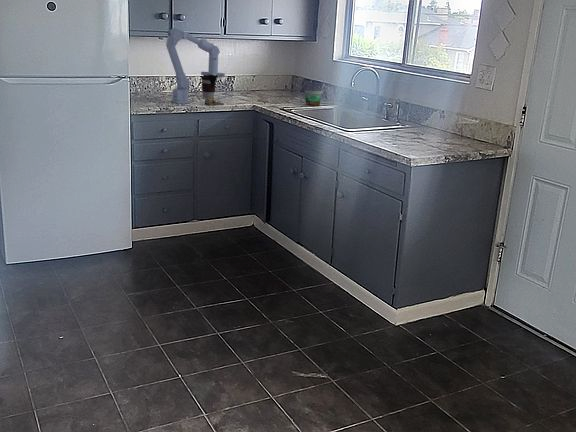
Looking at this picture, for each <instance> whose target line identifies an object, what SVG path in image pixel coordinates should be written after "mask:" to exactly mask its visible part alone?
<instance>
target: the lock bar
mask: <svg viewBox="0 0 576 432" xmlns="http://www.w3.org/2000/svg"><path fill="white" fill-rule="evenodd" d="M206 99H207V100H209V102H217V100H216V99H217V97H214V98H206Z"/></svg>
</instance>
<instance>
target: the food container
mask: <svg viewBox="0 0 576 432" xmlns="http://www.w3.org/2000/svg"><path fill="white" fill-rule="evenodd" d="M304 93H305V97H304V98H305V106H307V105H308V106H309V107H320V104H321V100H322V95H323V90H310V89H309V90H308V89H305V90H304ZM304 93H303V94H304Z"/></svg>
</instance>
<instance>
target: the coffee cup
mask: <svg viewBox="0 0 576 432" xmlns="http://www.w3.org/2000/svg"><path fill="white" fill-rule="evenodd" d="M210 75H212V74H210ZM208 76H209V75H201V78H200V79H201V92H202V98H203V99H207V98H215V91H216V84H217V83H216V82H215V85H214V88H211V83H210V80H209V78H208ZM217 80H218V78H217V79H216V81H217Z"/></svg>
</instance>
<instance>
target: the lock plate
mask: <svg viewBox="0 0 576 432" xmlns="http://www.w3.org/2000/svg"><path fill="white" fill-rule="evenodd" d="M203 104H204V106H208V107H209V106H210V107H211V106H213V107H214V106H215V107H216V106H224V105H225V103H224V102H221V101H216V102H209V100H207V98H204V103H203Z"/></svg>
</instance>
